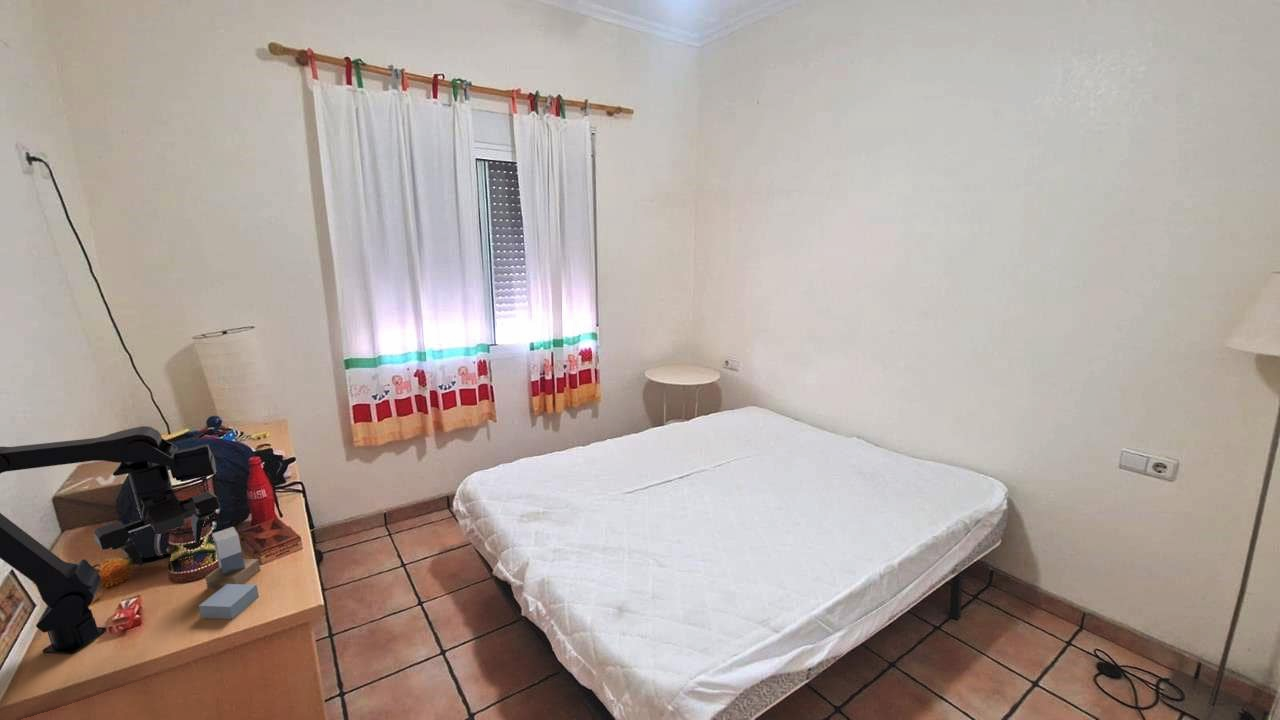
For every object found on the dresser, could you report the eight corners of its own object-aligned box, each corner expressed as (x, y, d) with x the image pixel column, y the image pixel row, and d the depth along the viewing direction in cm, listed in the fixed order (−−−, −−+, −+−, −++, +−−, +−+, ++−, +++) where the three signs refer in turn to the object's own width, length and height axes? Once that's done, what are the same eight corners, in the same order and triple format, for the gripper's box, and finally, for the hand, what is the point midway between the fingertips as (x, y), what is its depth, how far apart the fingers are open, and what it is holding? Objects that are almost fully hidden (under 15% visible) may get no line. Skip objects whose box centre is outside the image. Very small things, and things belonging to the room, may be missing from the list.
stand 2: (201, 617, 108) (198, 605, 107) (229, 595, 114) (226, 583, 114) (232, 618, 107) (230, 606, 106) (258, 596, 114) (256, 584, 113)
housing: (223, 576, 116) (216, 542, 114) (219, 567, 119) (212, 533, 117) (245, 568, 119) (238, 534, 117) (240, 559, 122) (233, 526, 120)
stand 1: (207, 588, 117) (205, 577, 116) (233, 569, 123) (230, 558, 123) (236, 589, 116) (234, 578, 116) (260, 570, 123) (258, 559, 122)
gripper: (97, 519, 92) (119, 593, 96) (222, 479, 107) (237, 544, 111) (83, 502, 98) (105, 572, 102) (203, 466, 113) (218, 528, 117)
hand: (170, 553), depth 108 cm, fingers open, 9 cm apart
